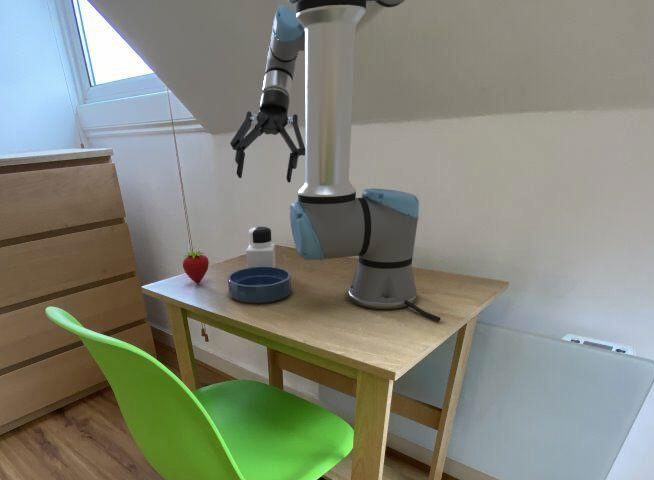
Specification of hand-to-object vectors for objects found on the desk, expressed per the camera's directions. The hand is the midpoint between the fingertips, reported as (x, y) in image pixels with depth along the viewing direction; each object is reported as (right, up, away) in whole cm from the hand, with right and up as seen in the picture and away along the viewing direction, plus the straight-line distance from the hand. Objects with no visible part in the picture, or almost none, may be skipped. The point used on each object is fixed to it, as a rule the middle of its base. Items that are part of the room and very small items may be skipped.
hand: (263, 178), depth 116 cm
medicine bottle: (0, -24, +6) cm, 25 cm away
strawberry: (-17, -28, 0) cm, 33 cm away
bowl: (-1, -33, -8) cm, 34 cm away
